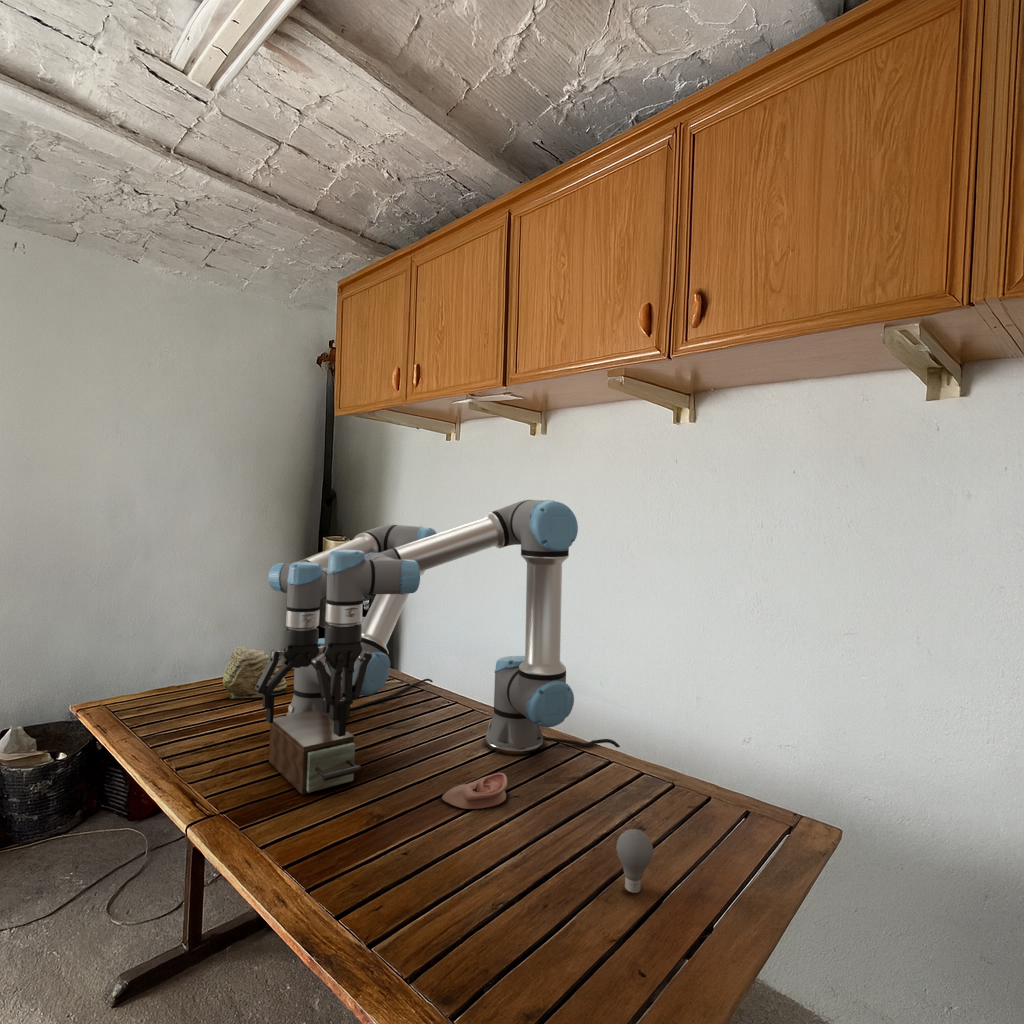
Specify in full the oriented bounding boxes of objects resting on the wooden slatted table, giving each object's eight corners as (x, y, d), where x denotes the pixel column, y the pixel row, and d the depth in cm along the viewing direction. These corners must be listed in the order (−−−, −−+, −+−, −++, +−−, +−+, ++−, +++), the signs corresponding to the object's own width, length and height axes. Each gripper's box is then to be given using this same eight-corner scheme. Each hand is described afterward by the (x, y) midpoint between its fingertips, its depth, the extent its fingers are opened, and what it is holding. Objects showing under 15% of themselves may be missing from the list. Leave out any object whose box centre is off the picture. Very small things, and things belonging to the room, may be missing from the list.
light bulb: (610, 879, 108) (613, 822, 108) (644, 879, 109) (647, 822, 109) (619, 902, 102) (622, 840, 102) (655, 901, 103) (658, 840, 103)
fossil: (218, 695, 195) (220, 647, 195) (278, 685, 208) (279, 640, 207) (228, 703, 189) (230, 653, 188) (289, 692, 201) (290, 645, 201)
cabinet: (352, 781, 142) (354, 736, 141) (302, 794, 134) (303, 747, 134) (315, 750, 157) (316, 709, 157) (268, 761, 150) (270, 718, 150)
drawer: (365, 790, 136) (366, 752, 135) (319, 803, 129) (320, 763, 129) (318, 751, 155) (319, 718, 154) (276, 761, 148) (277, 726, 148)
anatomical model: (437, 786, 132) (453, 764, 143) (436, 805, 132) (453, 781, 143) (499, 795, 129) (511, 771, 140) (499, 814, 129) (510, 789, 141)
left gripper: (253, 635, 140) (249, 731, 140) (357, 625, 156) (353, 711, 156) (243, 629, 146) (239, 721, 146) (344, 620, 162) (340, 703, 162)
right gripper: (321, 629, 127) (316, 746, 127) (380, 623, 135) (375, 733, 135) (306, 622, 132) (302, 734, 133) (363, 617, 141) (359, 722, 141)
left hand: (298, 716), depth 151 cm, fingers open, 13 cm apart
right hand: (339, 733), depth 134 cm, fingers closed
